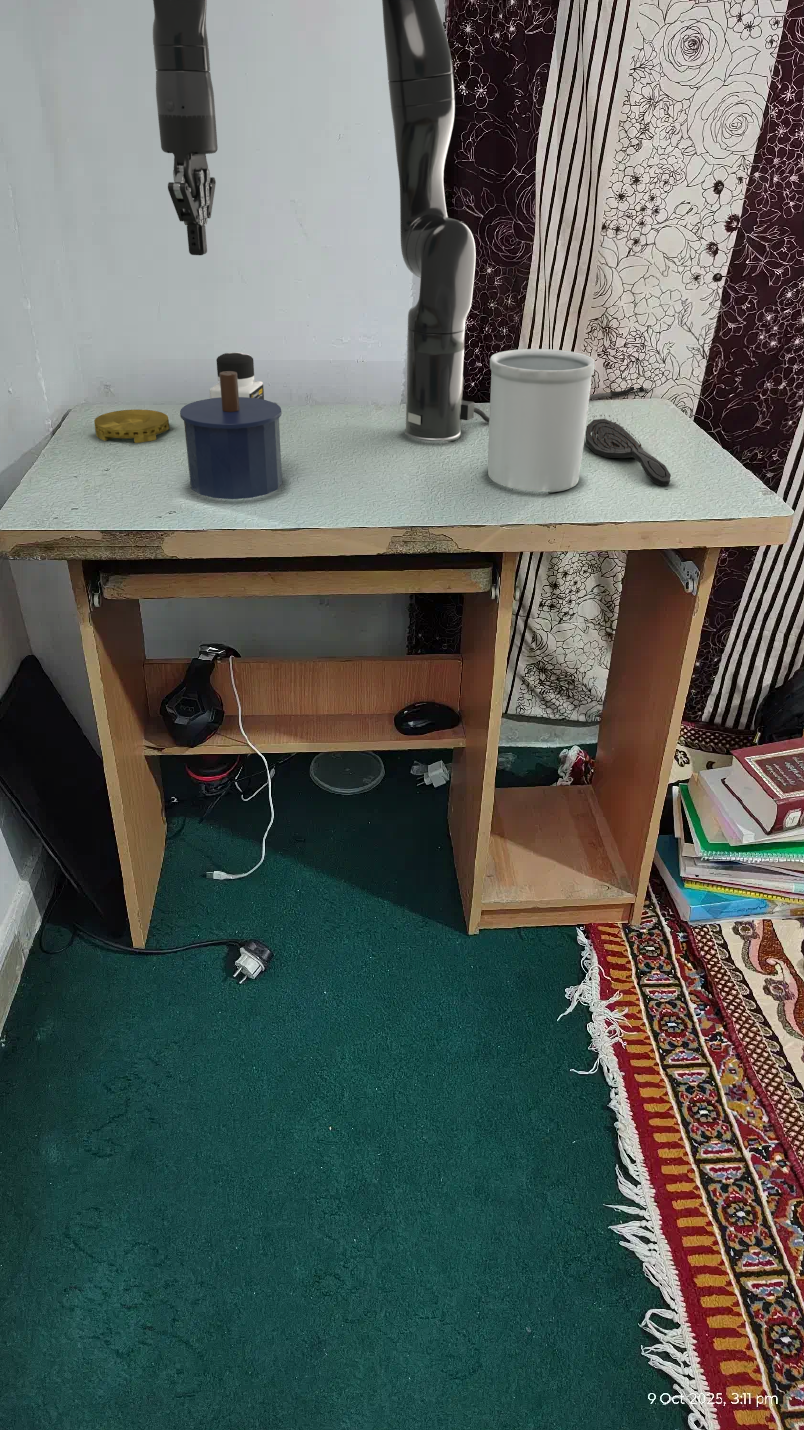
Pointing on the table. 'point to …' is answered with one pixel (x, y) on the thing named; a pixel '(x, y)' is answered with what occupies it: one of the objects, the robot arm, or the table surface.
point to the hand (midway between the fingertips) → (198, 254)
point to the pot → (234, 460)
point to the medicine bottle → (239, 375)
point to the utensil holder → (538, 418)
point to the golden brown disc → (131, 425)
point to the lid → (230, 408)
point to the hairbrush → (623, 448)
